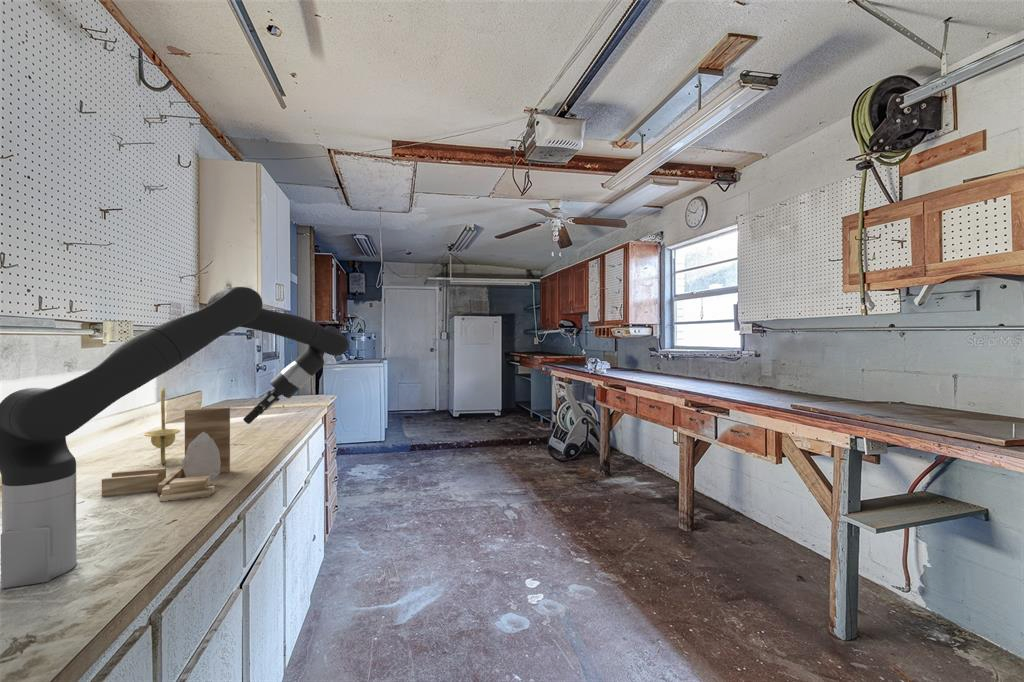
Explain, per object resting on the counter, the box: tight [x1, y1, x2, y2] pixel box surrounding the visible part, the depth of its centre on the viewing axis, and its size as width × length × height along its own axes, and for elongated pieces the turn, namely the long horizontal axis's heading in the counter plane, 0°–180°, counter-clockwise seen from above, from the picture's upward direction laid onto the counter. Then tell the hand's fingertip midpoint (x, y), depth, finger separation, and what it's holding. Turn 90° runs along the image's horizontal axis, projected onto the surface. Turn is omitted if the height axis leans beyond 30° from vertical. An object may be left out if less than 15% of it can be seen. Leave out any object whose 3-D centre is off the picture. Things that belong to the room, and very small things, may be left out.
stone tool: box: [182, 432, 221, 484], centre depth 128 cm, size 9×3×15 cm, turn 119°
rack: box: [157, 407, 231, 497], centre depth 130 cm, size 19×13×20 cm
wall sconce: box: [143, 387, 181, 465], centre depth 149 cm, size 14×10×25 cm
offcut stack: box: [159, 476, 216, 502], centre depth 119 cm, size 5×11×4 cm, turn 112°
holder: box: [101, 467, 167, 497], centre depth 124 cm, size 7×12×4 cm, turn 112°
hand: (248, 419), depth 132 cm, fingers open, 8 cm apart
